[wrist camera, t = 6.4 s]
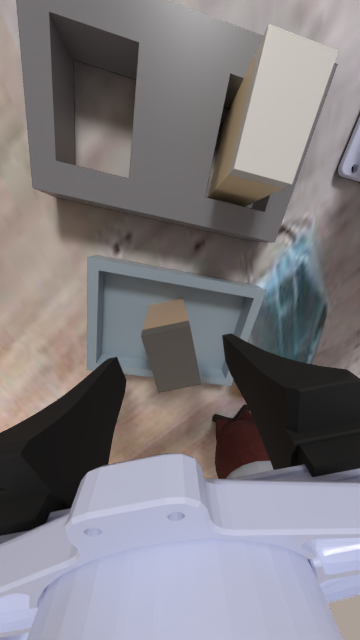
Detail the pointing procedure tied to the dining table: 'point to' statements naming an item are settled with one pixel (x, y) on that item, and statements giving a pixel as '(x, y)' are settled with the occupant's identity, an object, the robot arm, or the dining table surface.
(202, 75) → the block
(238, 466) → the mate gourd
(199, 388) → the dining table surface
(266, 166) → the block
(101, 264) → the parts tray
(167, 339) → the block
